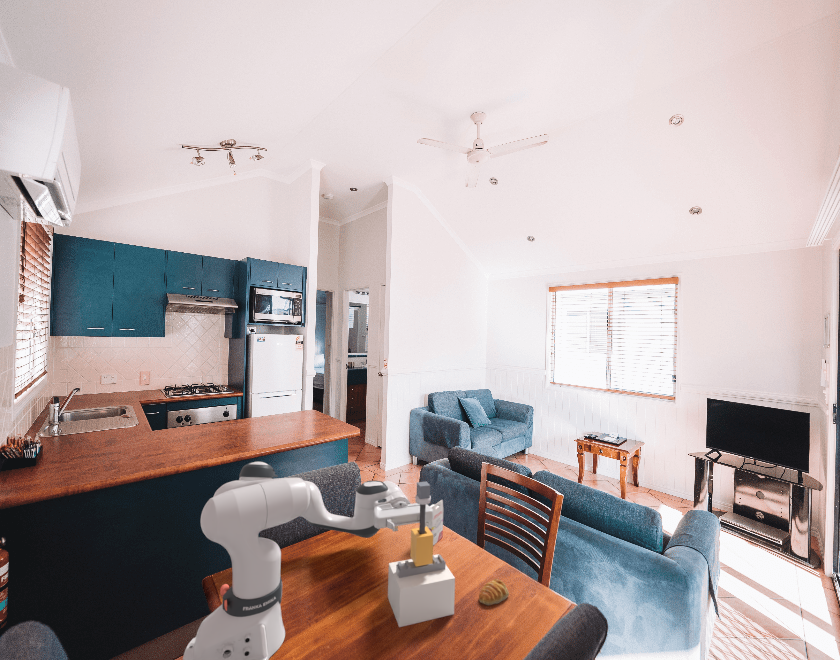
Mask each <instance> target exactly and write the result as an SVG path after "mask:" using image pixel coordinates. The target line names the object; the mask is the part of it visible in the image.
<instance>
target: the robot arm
mask: <svg viewBox="0 0 840 660" xmlns="http://www.w3.org/2000/svg"><path fill="white" fill-rule="evenodd" d="M238 476H239V479H238V480H237V479H236V480H232V481H229V482H228V481H227V482H226V483H224V484H222V485H221V486H220V487H218V489H217V490H216V491H215V492H214V495H213V497H211V498H209V499H208V500H207V502H206V503H205V505H204V507H203V509H202V511H201V514H200V527H201V531H202V533H203V534H204V535H205V537H206V539H208V540H210V541H211V542H213V543H217V544H219V545H221V546H222V547H223V548H224V549H226V551H227V553H228V555H229V556H230V560H231V569H232V583H231V584H232V585H231V586H229V584H227V583H224V584H222V585H221V586H220V589H219V591H220V592H219V593H220V594H219V595H220V596H221V597H222V599H221V600H222V601H221V602H222V603H221V605H219V606H218V607H217V608H215V610H214V611H213V612H211V613H209V615H207V616H206V617H205V618H204V619H203V621H202V622H201V623H200V625H199V627H198V630H197V632H196V635H195V637H193V638H192V639H191V640H190V641H189V642H188V644H187V646H186V647H185V649H184V652H183V657H182V660H270V658H271V657H272V656H273V655H274V654H275V653H276V652H277V651H278V650H279V649H280V647H281V646H282V645H283V642H284V640H285V637H286V630H285V629H286V628H285V626H284V622H283V618H282V617H283V616H282V609H281V608H282V607H281V604H282V597H283V581H282V577H281V566H282V565H281V563H282V551H281V548H280V546H279V544H278V543H277V542H275V541H274V540H272V539H269V538H265V537H260V536H259V534H260V532H262V531H263V530H268V529H270V528H274V527H277V526H280V525H283V524H287V523H289V522H291V521H293V520H295V519H296V518H298V517H302V518H304V519H305V520H306V521H307V523H308V524H309V525H311V526H313V527H315V528H316V527H317V528H321V529H326V530H331V531H335V532H341V533H346V534H351V535H354V536H356V537H357V536H358V537H360V538H363V539H369V538H373V536H375V535H376V534H377V533H378V532H379V531H380V529H386V528H387V529H389V530H392V532H398V531H399V527H401V526H406V525H413V524H420V504H418V503H416V502H414V503H411V502H410V500H409V499H408V497H407V495H405V493H404V492H403V490H402V489H401V487H400V486H398V485H397V483H395V482H393V481H391V480H385V481H381V480H375V479H374V480H373V479H372V480H367V481H364V482H363V483H362V484H360V485H359V486H358V487H357V488H356V491H355V501H354V510H353V511H354V512H353V516H352V517H348V516H345V515H339V514H333V513H331V512H329V511H328V509H327V508H326V506H325V503H324V500H323V496H322V493H321V491H320V489H319V487H318V486H317V484H315V483H314V482H312V481H310V480H304V479H303V478H302V477H281V478H280V477H279V476H278V474H276V472H275V469H274V468H273V466H272V465H270V464H268V463H266V462H264V461H254V462H249V463H247V464H245V465H244V466H242V468H241V469H240V473H239V475H238ZM278 477H279V478H278ZM430 506H431V505H429V504H426V510H425V527H426V522H428V521H432V519H433V509H432V508H431V507H430Z"/></svg>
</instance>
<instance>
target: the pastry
mask: <svg viewBox="0 0 840 660" xmlns="http://www.w3.org/2000/svg"><path fill="white" fill-rule="evenodd" d="M509 595H510V593H509V590H508V588H507V586H506V583H505V582H503V580H502V579H498V578H495V579H493V580H491V581H489V582H486V583H485V585H483V587H482V588H481V589H480V592H479V594H478V600H479V602H480V603H481V604H483V605H485V606H492V605H497V604H499V603H501V602H503V601H505V600H506V599H507V598H508V597H509Z"/></svg>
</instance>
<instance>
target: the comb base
mask: <svg viewBox="0 0 840 660" xmlns="http://www.w3.org/2000/svg"><path fill="white" fill-rule="evenodd" d="M387 578H388V579H387V598H388V602H389V604H390V607H391V609H392V613H393V614H394V618H395V619H396V622H397V625H398V628H401V627H406V626H410V625H415V624H419V623H422V622H426V621H427V622H428V621H432V620H435V619H440V618H443V617H447V616H453V615H455V600H456V599H455V597H456V596H455V591H456V577H455V576H454V574H453V573H452V571H451V570H450V569H449V567H448V566H447V564H446V560H445V559H444V558H443V555H441V554H439V553H438V554H437V553H436V554H433V563H432V564H427V565H421V566H415V564H414V562H413V560H412V558H409V559H405V560H404V559H403V560H398V561H393V562H389V563H388V577H387Z"/></svg>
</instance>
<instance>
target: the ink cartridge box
mask: <svg viewBox="0 0 840 660" xmlns="http://www.w3.org/2000/svg"><path fill="white" fill-rule="evenodd" d="M429 506H430V507H431V508H432V509H433V519H432V521H428V522H426V527H428V528H429V530H430V531H431V533H432V534H433V546H435V545H436V544H437V543H438V542H440V540H441V539H442V538H443V537H444V500H443V499H441V500H440V501H437V503H434V504H431V505H429Z"/></svg>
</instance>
